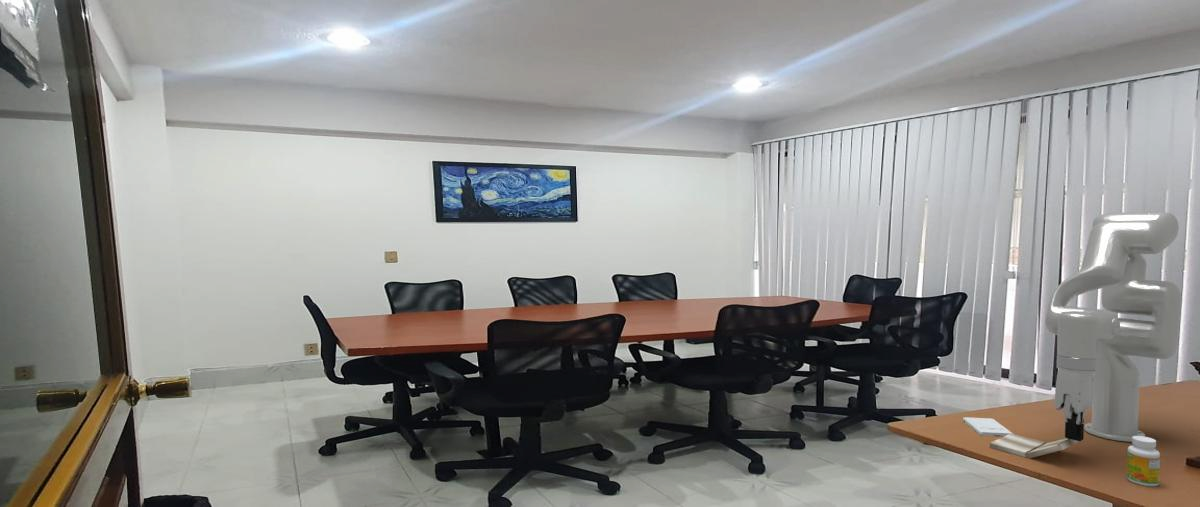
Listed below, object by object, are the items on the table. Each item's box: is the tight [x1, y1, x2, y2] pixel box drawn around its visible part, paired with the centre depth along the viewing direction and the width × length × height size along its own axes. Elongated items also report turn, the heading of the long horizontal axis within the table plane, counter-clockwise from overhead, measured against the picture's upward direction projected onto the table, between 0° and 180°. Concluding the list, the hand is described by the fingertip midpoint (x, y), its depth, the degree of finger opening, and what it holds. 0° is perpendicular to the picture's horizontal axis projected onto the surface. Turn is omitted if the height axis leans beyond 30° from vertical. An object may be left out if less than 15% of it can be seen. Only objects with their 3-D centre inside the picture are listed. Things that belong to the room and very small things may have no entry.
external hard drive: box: [962, 416, 1014, 437], centre depth 170 cm, size 2×8×12 cm
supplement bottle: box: [1126, 436, 1161, 487], centre depth 135 cm, size 5×5×10 cm
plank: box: [1027, 437, 1079, 459], centre depth 149 cm, size 12×8×1 cm
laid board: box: [989, 432, 1046, 459], centre depth 156 cm, size 12×9×1 cm
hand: (1074, 438), depth 146 cm, fingers closed
